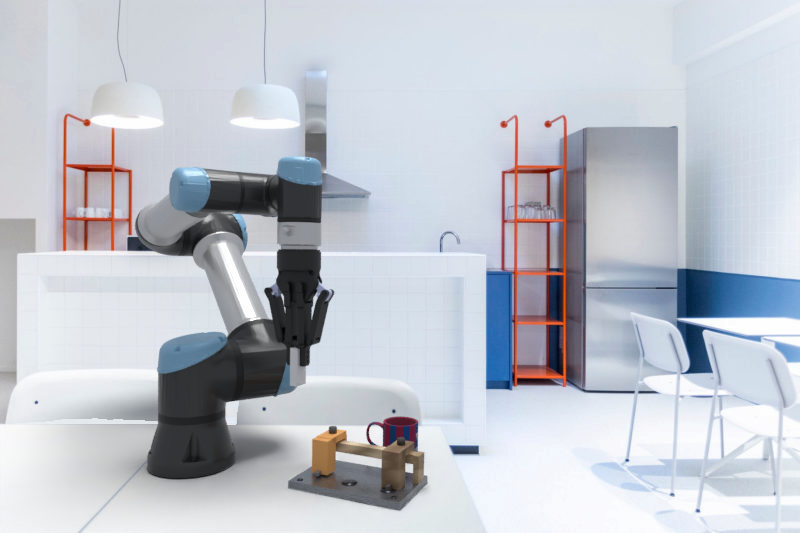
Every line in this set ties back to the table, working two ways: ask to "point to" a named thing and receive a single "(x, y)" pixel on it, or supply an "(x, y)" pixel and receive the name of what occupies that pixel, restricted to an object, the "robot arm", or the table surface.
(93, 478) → the table surface
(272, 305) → the robot arm
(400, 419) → the mug
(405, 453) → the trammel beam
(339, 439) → the slider leg
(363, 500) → the flange plate
